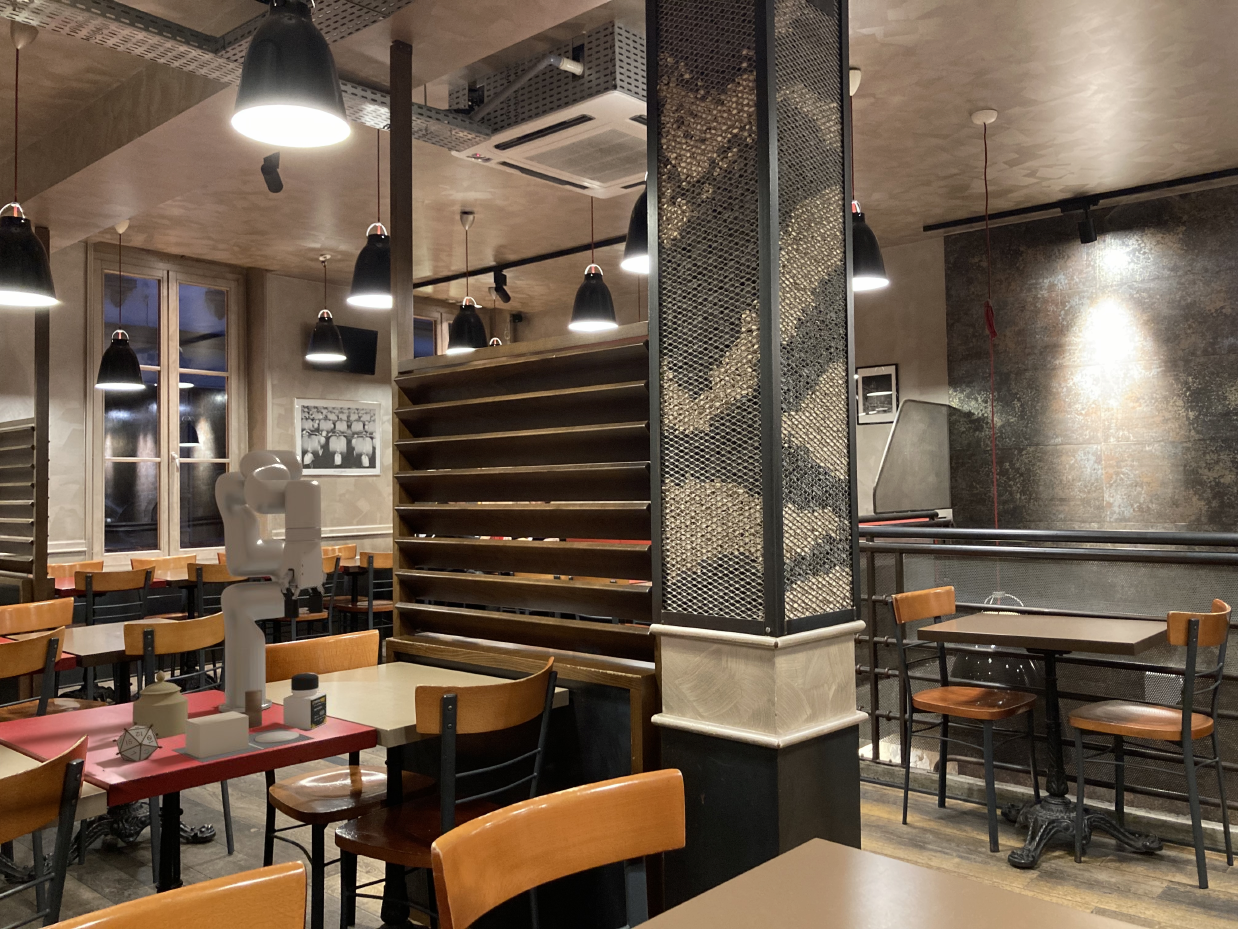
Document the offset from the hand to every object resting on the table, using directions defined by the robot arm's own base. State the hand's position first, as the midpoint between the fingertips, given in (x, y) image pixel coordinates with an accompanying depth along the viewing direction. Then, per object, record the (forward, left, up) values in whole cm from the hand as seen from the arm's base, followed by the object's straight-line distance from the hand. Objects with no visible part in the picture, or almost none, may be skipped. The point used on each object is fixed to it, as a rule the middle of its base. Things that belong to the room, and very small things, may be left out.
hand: (304, 615), depth 206 cm
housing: (-4, -17, -26) cm, 32 cm away
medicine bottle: (-14, +8, -28) cm, 32 cm away
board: (-4, -11, -27) cm, 30 cm away
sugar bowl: (-31, -19, -28) cm, 46 cm away
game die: (-11, -30, -28) cm, 42 cm away
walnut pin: (-19, -2, -27) cm, 33 cm away
